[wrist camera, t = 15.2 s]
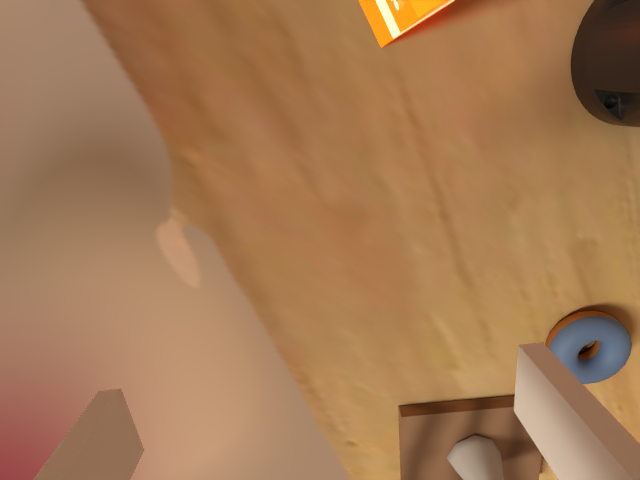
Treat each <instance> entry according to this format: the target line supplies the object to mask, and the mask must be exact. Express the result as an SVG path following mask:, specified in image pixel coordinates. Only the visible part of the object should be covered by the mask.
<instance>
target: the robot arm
mask: <svg viewBox="0 0 640 480" xmlns="http://www.w3.org/2000/svg"><path fill="white" fill-rule="evenodd" d="M571 74H572V81H573V85H574V89H575V91H576V94H577V96H578V98H579V100H580V101H581V103H582V104H583V106H584V107H585V108H586V109H587V110H588V111H589V112H590V113H591V114H592V115H593V116H595V117H596V118H598V119H600V120H602V121H604V122H606V123H609V124H613V125H619V126H632V127H640V0H594V2H593V3H592V5H591V6H590V8H589V9H588V11H587V12H586V14H585V16H584V18H583V20H582V22H581V24H580V26H579V29H578V31H577V34H576V37H575V41H574V45H573V50H572V57H571ZM514 412H515V414H516V415H517V417H518V418H519V420H520V421H521V423H522V425H523V426H524V428H525V429H526V431H527V432H528V434H529V435H530V437H531V438H532V440H533V441H534V443H535V445H536V446H537V448H538V449H539V451H540V452H541V454H542V455H543V457H544V458H545V460H546V461H547V463H548V464H549V466H550V468H551V469H552V471H553V472H554V474H555V475H556V477H557V478H558V480H640V444H639V443H638V442H637V441H636V440H635V439H634V437H633V436H632V435H631V434H630V433H629V432H628V431H627V430H626V429H625V428H624V427H623V426H622V425H621V424H620V423H619V422H618V421H617V420H616V419H615V418H614V417H613V416H612V414H611V413H610V412H609V411H608V410H607V409H606V408H605V407H604V406H603V405H602V404H601V403H600V402H599V401H598V400H597V399H596V398H595V397H594V396H593V395H592V394H591V393H590V391H589V390H588V389H587V388H586V387H585V386H584V385H583V384H582V383H581V382H580V381H579V380H578V379H577V378H576V377H575V376H574V375H573V374H572V373H571V372H570V371H569V370H568V368H567V367H566V366H565V365H564V364H563V363H562V362H561V361H560V360H559V359H558V358H557V357H556V356H555V355H554V354H553V353H552V352H551V351H550V350H549V349H548V348H547V346H546V345H545V344H544V343H543V342H541V343H532V344H523V345H519V348H518V361H517V374H516V387H515V400H514ZM143 451H144V448H143V446H142V443H141V441H140V438H139V435H138V432H137V430H136V427H135V424H134V422H133V419H132V416H131V414H130V411H129V408H128V406H127V403H126V401H125V398H124V395H123V392H122V390H121V389H114V390H105V391H98V392H97V394H96V395H95V397H94V398H93V399H92V401H91V402H90V403H89V405H88V406H87V407H86V409H85V410H84V412H83V413H82V414H81V416H80V417H79V418H78V420H77V421H76V422H75V424H74V425H73V427H72V428H71V429H70V430H69V432H68V433H67V435H66V436H65V438H64V439H63V440H62V441H61V443H60V444H59V445H58V447H57V448H56V450H55V451H54V452H53V454H52V455H51V456H50V458H49V459H48V460H47V462H46V463H45V465H44V466H43V467H42V469H41V470H40V471H39V473H38V474H37V475H36V477H35V478H34V480H130V479H131V476H132V474H133V472H134V470H135V468H136V466H137V464H138V462H139V460H140V458H141V456H142V454H143Z"/></svg>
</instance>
